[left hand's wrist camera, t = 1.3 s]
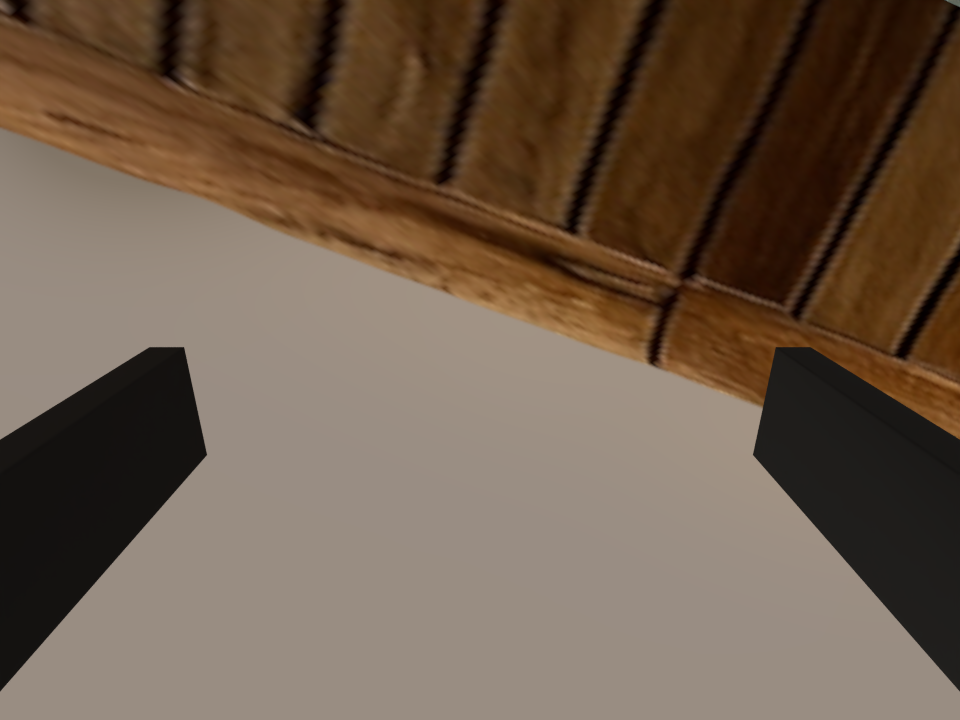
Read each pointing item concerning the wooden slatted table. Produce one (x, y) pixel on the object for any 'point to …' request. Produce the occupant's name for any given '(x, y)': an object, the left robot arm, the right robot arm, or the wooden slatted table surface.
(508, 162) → the wooden slatted table surface
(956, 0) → the cabinet
